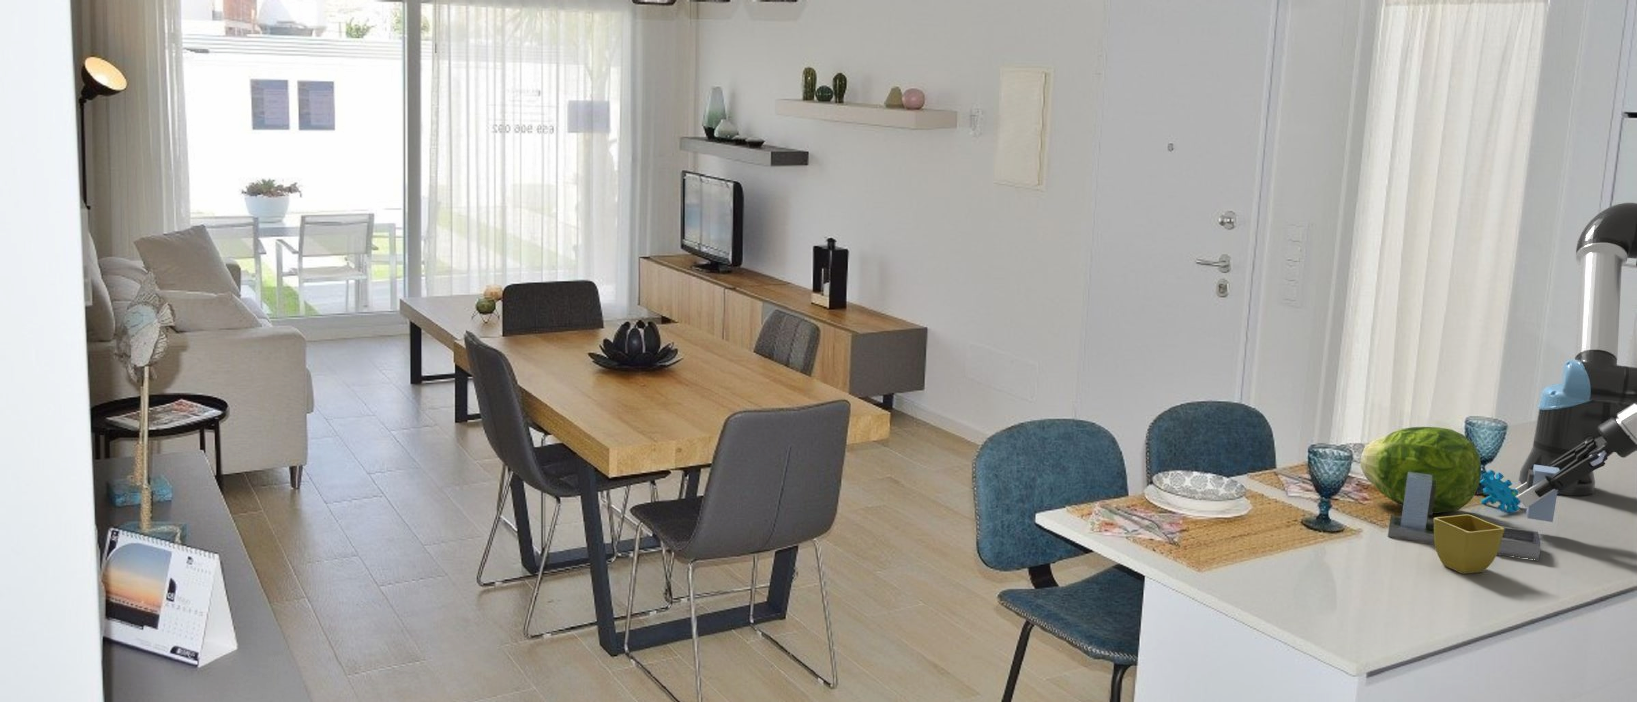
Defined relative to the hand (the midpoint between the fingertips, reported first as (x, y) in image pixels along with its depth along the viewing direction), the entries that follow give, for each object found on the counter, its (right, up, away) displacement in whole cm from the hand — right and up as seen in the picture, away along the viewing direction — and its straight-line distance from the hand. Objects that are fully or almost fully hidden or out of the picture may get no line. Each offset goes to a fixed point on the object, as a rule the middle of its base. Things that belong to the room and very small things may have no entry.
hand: (1521, 497), depth 282 cm
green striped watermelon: (-16, -4, +13) cm, 21 cm away
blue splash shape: (+3, -4, +16) cm, 16 cm away
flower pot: (-22, -11, -22) cm, 33 cm away
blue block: (+3, -4, -1) cm, 5 cm away
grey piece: (-15, -8, -8) cm, 19 cm away
